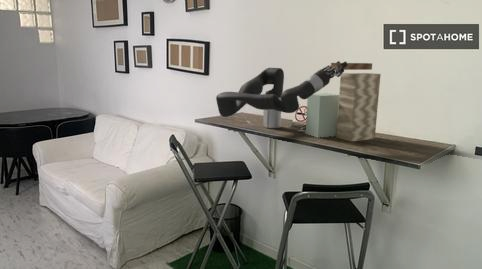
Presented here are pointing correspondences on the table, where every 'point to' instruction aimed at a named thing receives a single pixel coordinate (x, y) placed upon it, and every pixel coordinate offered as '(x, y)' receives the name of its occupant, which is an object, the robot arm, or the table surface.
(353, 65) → the bar
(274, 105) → the robot arm
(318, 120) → the short pedestal
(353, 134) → the tall stand
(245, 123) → the table surface
